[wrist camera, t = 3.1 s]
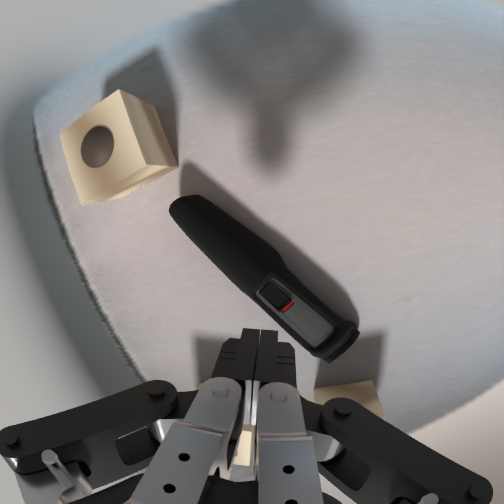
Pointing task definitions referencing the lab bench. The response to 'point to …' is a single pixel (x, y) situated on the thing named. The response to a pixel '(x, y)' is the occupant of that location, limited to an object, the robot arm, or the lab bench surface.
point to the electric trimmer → (263, 277)
